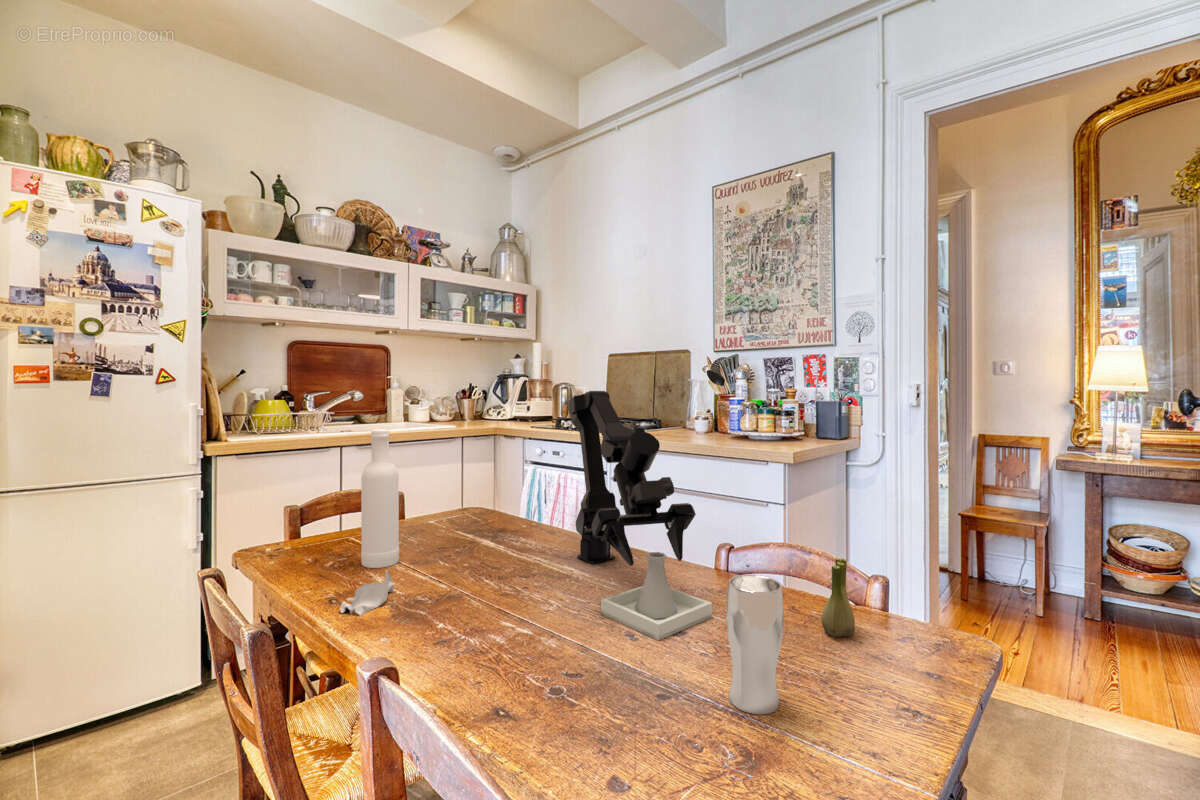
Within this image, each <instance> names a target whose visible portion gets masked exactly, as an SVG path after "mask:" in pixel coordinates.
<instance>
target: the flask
mask: <svg viewBox="0 0 1200 800" xmlns="http://www.w3.org/2000/svg"><path fill="white" fill-rule="evenodd" d="M646 557H647V558H648V563H647V564H648V565H647V566H648V567H647V571H646V575H645V579H644V582H643V585H642V586H643V587H642V590H641V592H640V595H639V597H638V600H637V602H636V605H635V609H636V611H637V612H638V613H639V614H642V615H644V616H646V617H649V618H651V619H657V618H669V617H671V616H673V615H675V614H677V613H678V611H677V608H676V605H675V602H674V599H673V597H672V594H671V591H670V588H671V587H670V585H669V583H668V578H667V573H666V568H665V560H666V559H667V555H666V554H665V553H664V552H659V551H651V552H649V553H646ZM669 587H670V588H669Z"/></svg>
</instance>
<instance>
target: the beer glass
mask: <svg viewBox="0 0 1200 800" xmlns="http://www.w3.org/2000/svg"><path fill="white" fill-rule="evenodd" d="M727 581H728V586H727V596H726V610H725V611H726V613H725V616H726V621H725V622H726V632H727V637H728V638H727V639H728V645H729V646H728V647H729V650H730V651H729V652H730V655H731V656H730V657H731V663H732V671H731V672H732V675H731V682H730V685H729V693H728V699H729V701H730V703H731V704H732V706H734V707H735V708H737V710H740V711H742V712H744V713H748V714H752V715H760V716H761V715H769V714H772V713H773V712H776V711H777V710H778V708H779V707H780V706H779V705H780V699H779V694H778V693H779V692H778V688H777V667H778V662H779V661H778V660H779V657H780V651H781V647H782V642H783V636H784V635H783V633H784V622H785V621H784V620H785V616H784V614H785V613H784V597H783V584H782V583H781V582H780V581H779V580H776V579H775V578H771V577H768V576H763V575H760V574H738V575H735V576H731V577H730V578H729V579H728V580H727Z"/></svg>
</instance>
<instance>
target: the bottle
mask: <svg viewBox="0 0 1200 800" xmlns="http://www.w3.org/2000/svg"><path fill="white" fill-rule="evenodd" d="M370 432H371V435H370V439H371V442H370V443H371V448H370V449H371V461H370V462H369V463H368V464H367V465H366V466H365V467H364V469H363V470H362V471H363V472H362V474H361V477H360V478H361V481H360V482H361V483H360V485H361V488H360V489H361V495H360V496H361V500H360V503H361V512H360V513H361V517H360V518H361V522H360V523H361V550H360V559H361V565H362V567H364V568H367V569H381V568H387V567H392V566H394V565H396V564H397V563H398V562H399V558H400V557H399V556H400V544H399V541H400V540H399V538H400V537H399V535H400V532H399V531H400V530H399V526H400V523H399V521H400V519H399V518H400V517H399V516H400V514H399V511H400V510H399V508H400V507H399V504H400V503H399V502H400V501H399V499H400V497H399V495H400V494H399V493H400V492H399V481H400V480H399V479H400V478H399V472H398V470H397V467H396V465H395V464H394V463H392V462H391V461H390V449H389V448H390V447H389V446H390V445H389V444H390V443H389V442H390V441H389V440H390V431H389V429H388V428H377V429H372V430H371V431H370Z"/></svg>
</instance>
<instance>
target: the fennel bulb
mask: <svg viewBox="0 0 1200 800" xmlns="http://www.w3.org/2000/svg"><path fill="white" fill-rule="evenodd" d="M847 565H848V563H847V559H845V558H841V557H840V558H835V565H831V595H829V598H828V599H827V601H826V603H825V605H824V608H823V610H822V613H821V619H820V620H821V621H820V622H821V625H822V628H823V629H824V631H825V633H826V634H828V635H830V636H832V637H836V638H837V637H839V638H843V637H847V638H849V637H851V636H852V635H854V633H855V630H856V628H855V626H856V624H855V623H856V622H855V616H854V611H853V609H852V606H851V603H850V600H849V597H848V591H847Z"/></svg>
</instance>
